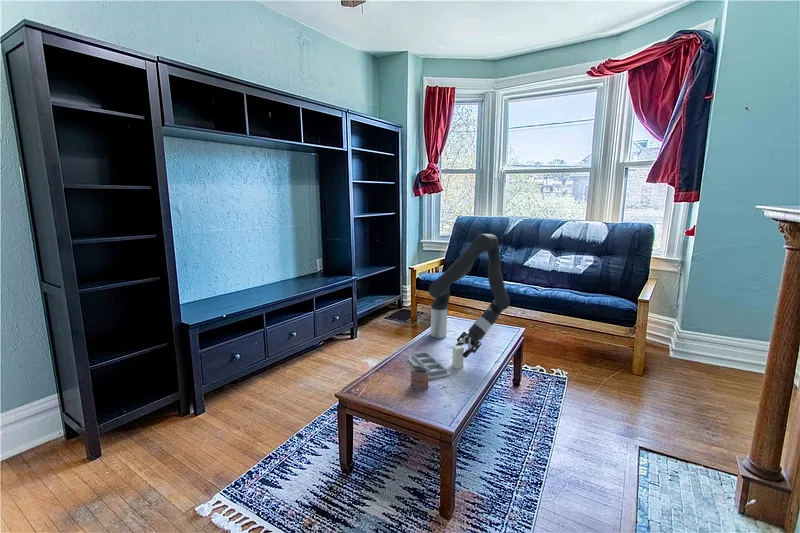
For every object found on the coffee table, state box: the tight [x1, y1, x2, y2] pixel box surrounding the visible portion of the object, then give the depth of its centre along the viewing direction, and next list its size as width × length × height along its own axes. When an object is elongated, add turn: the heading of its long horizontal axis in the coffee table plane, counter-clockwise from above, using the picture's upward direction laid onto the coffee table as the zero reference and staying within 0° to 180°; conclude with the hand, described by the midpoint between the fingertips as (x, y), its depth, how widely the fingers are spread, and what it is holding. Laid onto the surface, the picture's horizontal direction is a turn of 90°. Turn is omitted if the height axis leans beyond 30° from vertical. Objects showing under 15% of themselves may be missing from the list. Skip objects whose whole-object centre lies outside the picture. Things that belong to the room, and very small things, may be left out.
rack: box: [408, 351, 451, 380], centre depth 189 cm, size 22×12×3 cm, turn 22°
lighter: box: [410, 365, 430, 391], centre depth 169 cm, size 8×3×10 cm, turn 71°
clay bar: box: [451, 345, 465, 369], centre depth 190 cm, size 4×4×10 cm
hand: (459, 353), depth 189 cm, fingers open, 8 cm apart
